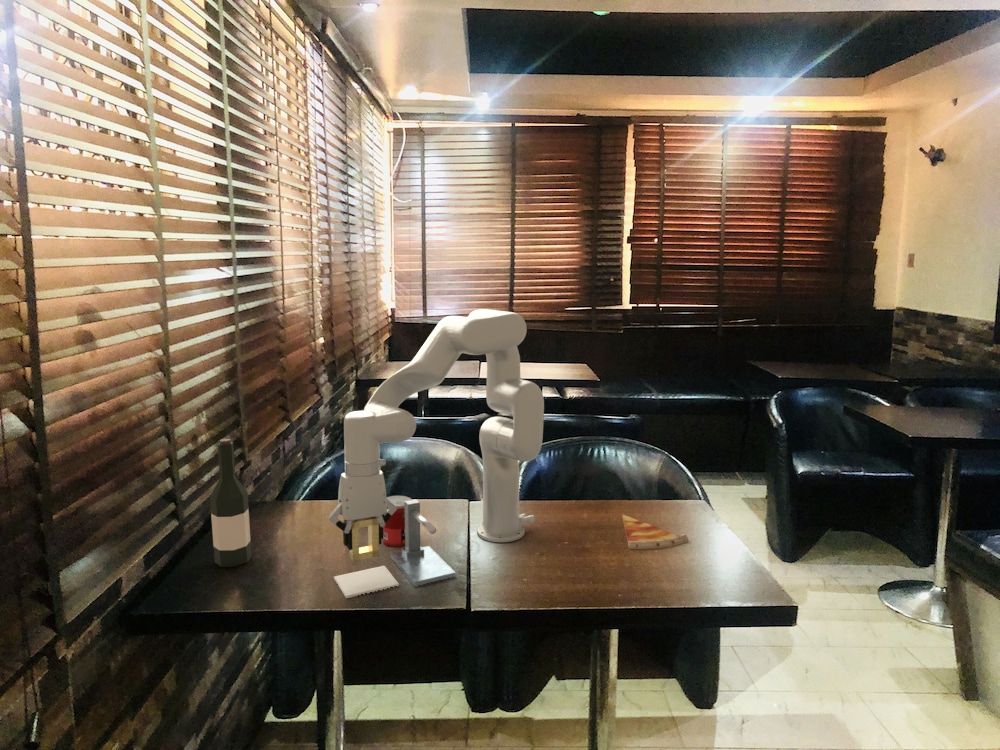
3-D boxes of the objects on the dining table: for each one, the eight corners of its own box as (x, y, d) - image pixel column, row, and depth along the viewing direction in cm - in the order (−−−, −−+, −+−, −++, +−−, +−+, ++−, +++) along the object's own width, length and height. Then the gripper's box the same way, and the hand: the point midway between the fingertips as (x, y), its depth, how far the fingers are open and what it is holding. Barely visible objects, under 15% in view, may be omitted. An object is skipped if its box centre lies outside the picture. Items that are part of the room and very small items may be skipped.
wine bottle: (206, 564, 163) (197, 442, 157) (231, 550, 170) (223, 433, 165) (235, 569, 160) (226, 446, 154) (258, 555, 168) (251, 437, 162)
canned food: (407, 548, 172) (406, 507, 170) (377, 545, 173) (376, 504, 171) (417, 536, 179) (416, 496, 177) (388, 533, 181) (387, 494, 179)
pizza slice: (678, 519, 193) (678, 512, 193) (692, 553, 171) (692, 546, 171) (622, 517, 194) (622, 510, 194) (629, 550, 173) (629, 543, 172)
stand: (428, 550, 171) (428, 495, 168) (455, 577, 157) (455, 518, 154) (390, 558, 166) (389, 502, 164) (414, 586, 152) (413, 526, 150)
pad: (384, 567, 161) (384, 565, 161) (398, 586, 153) (398, 583, 153) (334, 578, 156) (333, 576, 156) (346, 598, 147) (346, 595, 147)
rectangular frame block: (374, 551, 155) (374, 513, 154) (378, 556, 153) (378, 518, 151) (348, 556, 153) (348, 517, 151) (352, 561, 150) (351, 522, 149)
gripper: (394, 458, 157) (394, 532, 160) (318, 467, 149) (320, 545, 152) (405, 467, 150) (406, 544, 153) (327, 477, 142) (329, 559, 145)
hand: (363, 544), depth 152 cm, fingers closed on rectangular frame block, 6 cm apart
